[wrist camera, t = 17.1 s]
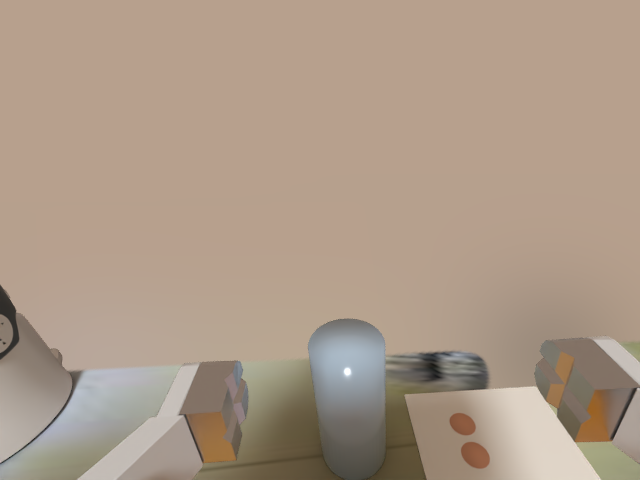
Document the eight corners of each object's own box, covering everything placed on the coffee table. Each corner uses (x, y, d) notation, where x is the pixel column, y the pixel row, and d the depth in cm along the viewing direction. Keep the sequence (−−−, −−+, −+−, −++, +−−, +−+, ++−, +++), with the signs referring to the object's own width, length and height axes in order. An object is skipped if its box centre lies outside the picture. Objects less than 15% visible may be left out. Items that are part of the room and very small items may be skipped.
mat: (433, 509, 25) (433, 505, 25) (404, 397, 34) (404, 394, 34) (610, 500, 25) (613, 496, 25) (534, 389, 34) (535, 386, 33)
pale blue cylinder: (322, 482, 27) (306, 376, 22) (322, 419, 32) (309, 320, 27) (391, 479, 27) (391, 371, 22) (380, 416, 32) (378, 316, 27)
